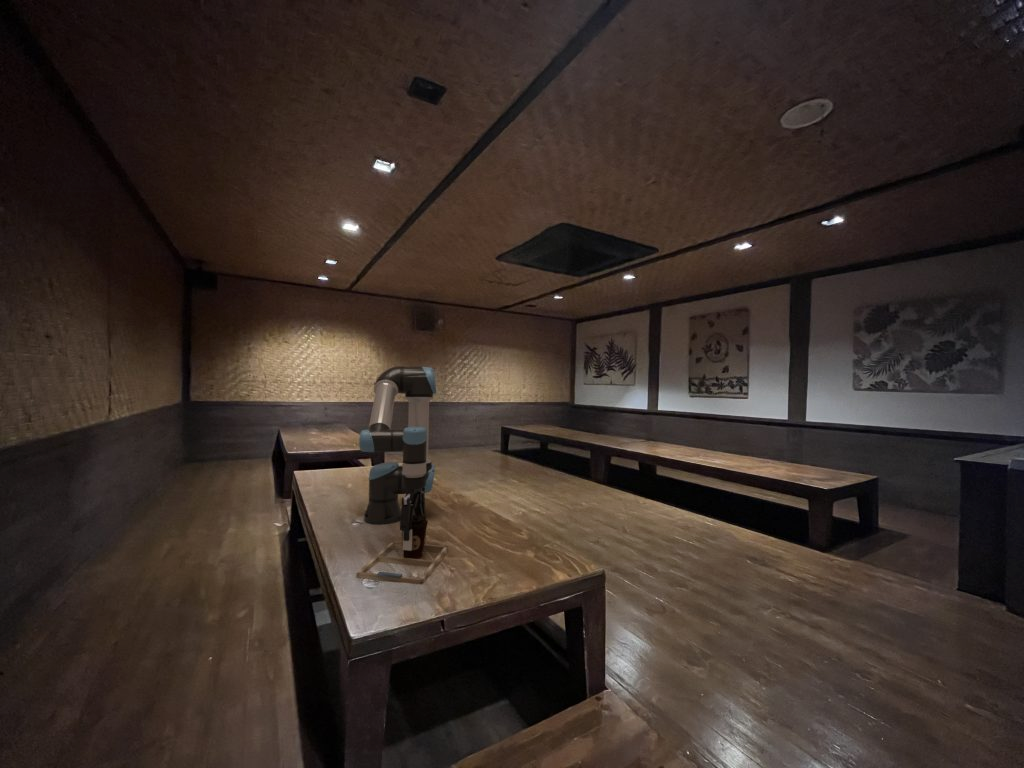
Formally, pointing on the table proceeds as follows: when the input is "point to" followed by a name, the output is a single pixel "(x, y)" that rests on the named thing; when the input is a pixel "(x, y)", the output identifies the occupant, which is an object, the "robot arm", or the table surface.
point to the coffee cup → (417, 537)
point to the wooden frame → (407, 561)
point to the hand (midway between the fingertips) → (412, 543)
